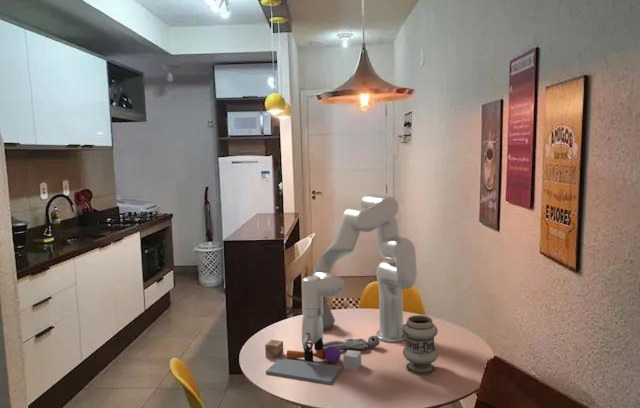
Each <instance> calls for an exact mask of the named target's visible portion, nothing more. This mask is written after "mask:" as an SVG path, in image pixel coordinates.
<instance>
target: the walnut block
mask: <svg viewBox="0 0 640 408" xmlns="http://www.w3.org/2000/svg"><path fill="white" fill-rule="evenodd" d="M264 347H265V348H264V349H265V358H267V359H268V358H269V359H273V360H274V359H276V360H278V359H279V358H281V357H282V356H283V355H284V341H283V340H278V339H277V340H276V339H271V340H269V341H268V342H267V343H265V345H264Z"/></svg>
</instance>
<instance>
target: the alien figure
mask: <svg viewBox="0 0 640 408" xmlns="http://www.w3.org/2000/svg"><path fill="white" fill-rule="evenodd" d="M380 341H381V340H380V339H379V338H378V337H377V336H376V335H372V336H369V337H368V339H367V341H366V340H365V339H364V338H355V339H353V338H348V339H345V340H344V341H342V340H332V341H331V340H330V341H327V342H326V341H325V342H323V349H324V350H326V348H327V347H329V346H335V347H337V348H338V349H339V350H344V349H345V350H346V349H347V350H364V349H366V348H367V349H374V348H376V347H378V346H380ZM316 352H318V350H315V353H316Z"/></svg>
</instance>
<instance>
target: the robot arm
mask: <svg viewBox="0 0 640 408" xmlns="http://www.w3.org/2000/svg"><path fill="white" fill-rule="evenodd" d="M360 201H361V202H360V206H361V207H360V208H359V207H350V208H346V209H345V210H344V212H343V213H342V216H341V218H340V222H339V224H338V227H337V229H336V233H335V234H334V237H333V240H332V243H331V245H330V246H329V247H327V248H326V249H325V251H324V252H323V253H322V254H321V256H319V258H318V259H317V262H316V264H315V267H314V270H313V272H312V275H311V276H310V275H309V276H305V277H303V278H302V280H301V299H302V302H301V303H302V306H301V307H302V316H303V317H302V324H301V343H302V348H303V352H304V358H303V359H304V362H310V363H314V356H313V353H314V351H313V347H314V350H315V351H316V350H318V351H320V350H322V349H323V343H324V336H323V335H324V330H323V319H322V315H323V297H330V296H331V297H332V296H334V297H335V296H338V295H340V294H341V293H342V292H343V291H344V289H345V281H344V279H343V278H342V277H341V276H339V275H337V274H334V273H332V269H333V267H334V265H335V264H336V262H338V261H339V260H340V259H342V258H344V257H346V256H348V255H351V254H352V253H353V252H354V251H355V248H356V245H357V242H358V239H359V237H360V235H361V232H363V233H370V232H373V231H374V230H376V235H377V236H376V237H377V248H378V249H377V251H378V254H379V255H380V256H381V257H382V258H385V259H387V260H382V261H381V262H380V263H379V264H378V265H377V267H376V270H375V271H376V280H377V285H378V295H379V296H378V297H379V298H378V303H379V308H378V309H379V312H378V313H379V329H378V330H377V331H376V332H375V336H377V337H378V338H379V341H381V342H385V343H398V342H402V341H404V340H405V341H406V335H405V334H404V333H403V326H404V325H405V324H404V297H403V296H404V294H403V290H410V289H411V288H413V287H414V286H415V284H416V281H417V276H418V272H417V270H418V269H417V256H416V253H417V252H416V247H415V246H414V243H413V241H411V240H410V239H408V238H407V237H403V236H400V233H399V226H398V221H397V217H396V215H397V213H398V212H399V203H398V201H397V199H396V198H395V197H392V196H390V195H379V194H367V195H364V196H363V197H362V198H361V200H360Z"/></svg>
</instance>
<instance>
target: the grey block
mask: <svg viewBox="0 0 640 408" xmlns="http://www.w3.org/2000/svg"><path fill="white" fill-rule="evenodd" d="M342 360H343V361H342V362H343V370H350V371H357V372H358V371H359V369H360V367H361V366H362V352H361V351H359V350H353V349H347V350H346V352H345V353H344V354H343V359H342Z"/></svg>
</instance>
